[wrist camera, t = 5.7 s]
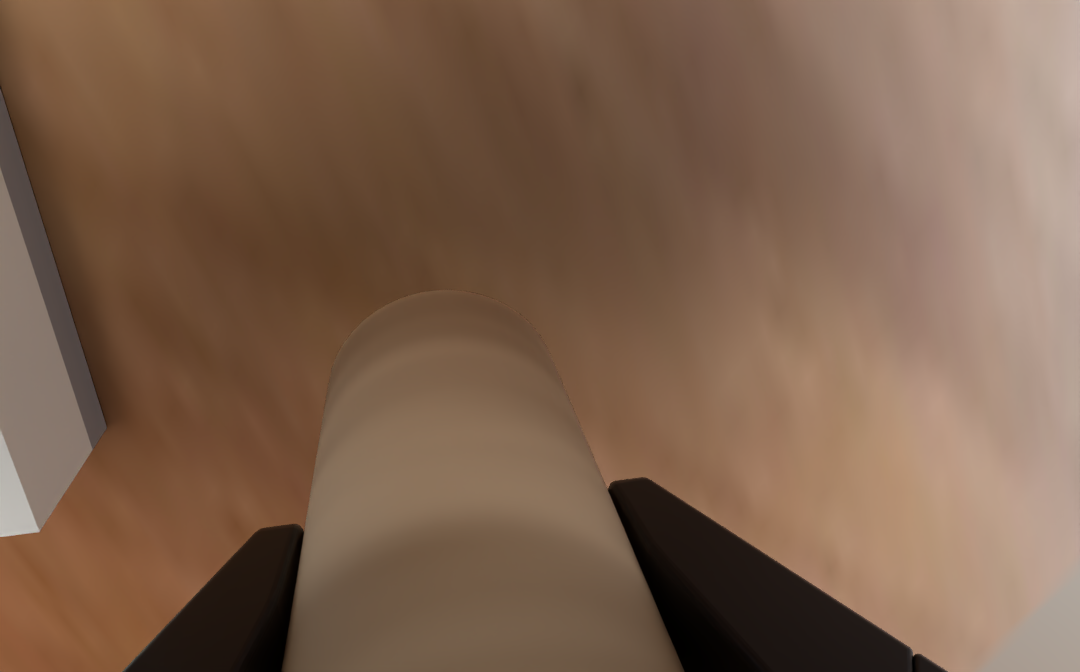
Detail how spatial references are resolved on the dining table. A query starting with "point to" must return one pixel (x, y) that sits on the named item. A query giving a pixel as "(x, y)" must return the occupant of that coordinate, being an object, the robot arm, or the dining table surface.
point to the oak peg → (462, 510)
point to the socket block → (36, 361)
